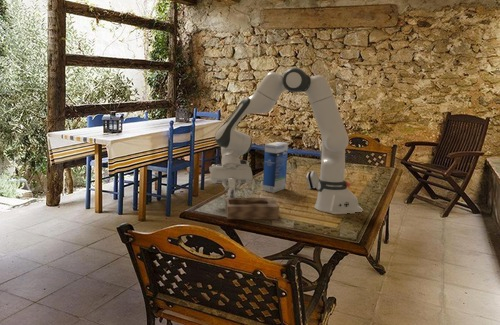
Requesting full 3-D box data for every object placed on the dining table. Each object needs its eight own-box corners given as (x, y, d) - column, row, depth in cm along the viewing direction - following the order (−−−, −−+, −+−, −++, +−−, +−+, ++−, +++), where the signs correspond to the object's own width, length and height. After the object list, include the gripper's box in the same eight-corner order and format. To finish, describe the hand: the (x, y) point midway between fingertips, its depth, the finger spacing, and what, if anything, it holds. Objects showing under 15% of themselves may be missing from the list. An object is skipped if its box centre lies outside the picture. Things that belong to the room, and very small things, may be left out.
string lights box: (274, 186, 244) (277, 141, 239) (286, 188, 239) (289, 143, 235) (262, 190, 233) (264, 143, 228) (274, 193, 229) (276, 145, 224)
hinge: (317, 190, 239) (312, 173, 239) (309, 191, 241) (304, 175, 240) (322, 184, 255) (318, 168, 254) (314, 185, 257) (310, 169, 256)
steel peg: (236, 201, 204) (237, 176, 202) (237, 204, 199) (238, 179, 197) (225, 201, 203) (225, 176, 201) (225, 204, 198) (226, 179, 196)
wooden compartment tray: (227, 219, 181) (227, 206, 180) (225, 209, 195) (225, 197, 194) (278, 219, 184) (279, 206, 183) (272, 209, 198) (273, 198, 197)
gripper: (209, 161, 203) (209, 186, 195) (251, 161, 206) (254, 186, 198) (208, 168, 208) (209, 193, 201) (250, 168, 211) (252, 193, 203)
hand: (231, 189), depth 199 cm, fingers closed on steel peg, 4 cm apart
